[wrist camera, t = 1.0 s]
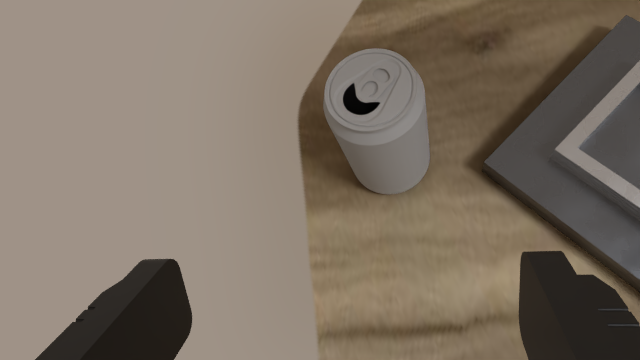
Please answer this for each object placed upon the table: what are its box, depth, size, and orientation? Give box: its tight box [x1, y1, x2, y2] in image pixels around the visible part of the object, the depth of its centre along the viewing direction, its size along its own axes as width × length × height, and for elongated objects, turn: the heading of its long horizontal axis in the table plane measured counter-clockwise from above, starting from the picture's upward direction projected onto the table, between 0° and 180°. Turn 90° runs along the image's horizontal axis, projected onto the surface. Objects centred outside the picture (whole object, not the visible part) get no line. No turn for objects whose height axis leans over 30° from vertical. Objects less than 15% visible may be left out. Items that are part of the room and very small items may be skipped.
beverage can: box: [323, 48, 430, 194], centre depth 33 cm, size 6×6×12 cm
